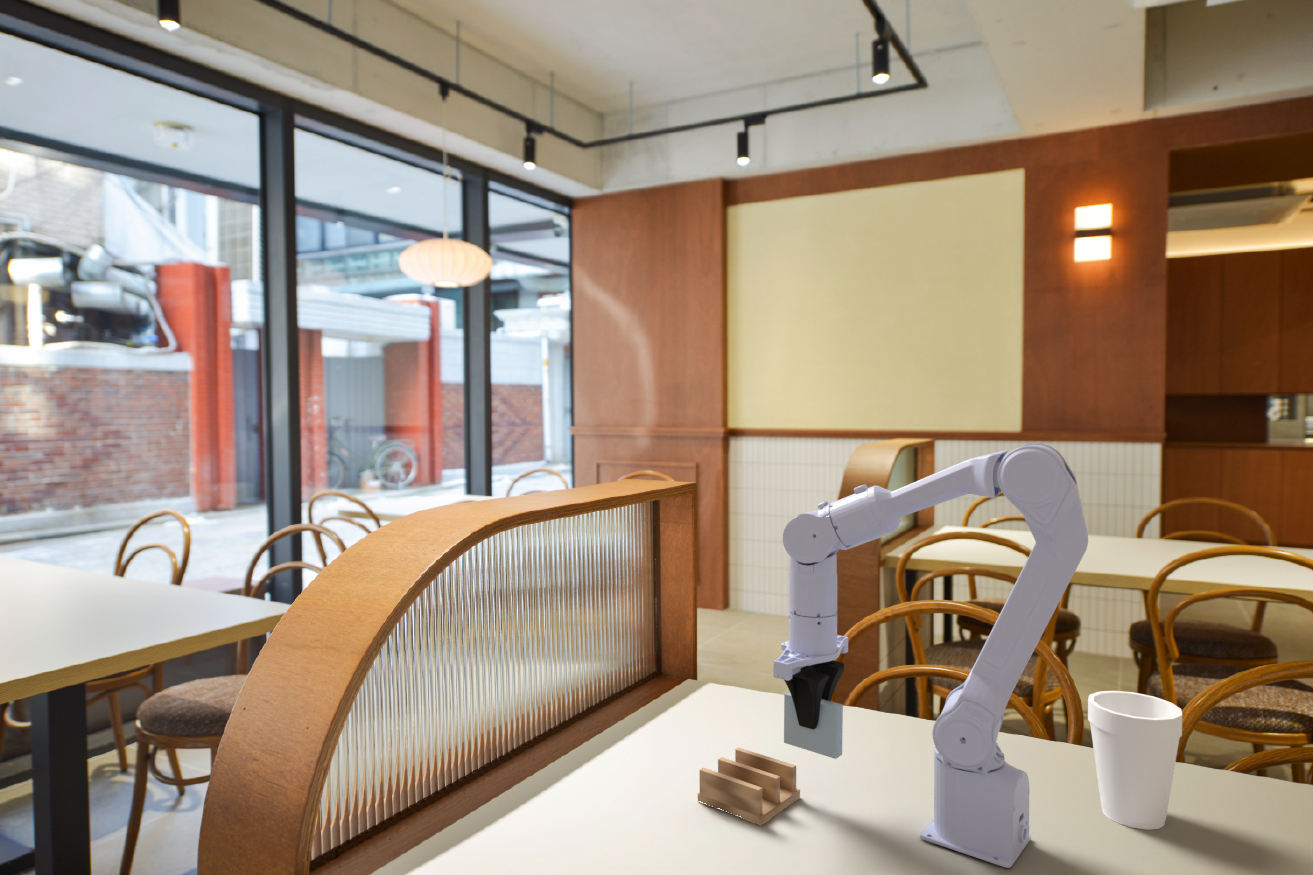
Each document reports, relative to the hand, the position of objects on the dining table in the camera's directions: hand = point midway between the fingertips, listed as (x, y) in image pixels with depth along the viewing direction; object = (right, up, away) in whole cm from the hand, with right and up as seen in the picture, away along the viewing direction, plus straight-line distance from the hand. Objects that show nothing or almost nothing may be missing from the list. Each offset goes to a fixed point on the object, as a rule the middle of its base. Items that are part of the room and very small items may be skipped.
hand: (812, 723), depth 97 cm
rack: (-8, -10, +1) cm, 12 cm away
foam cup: (+36, -10, -3) cm, 38 cm away
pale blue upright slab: (0, -3, 0) cm, 3 cm away
